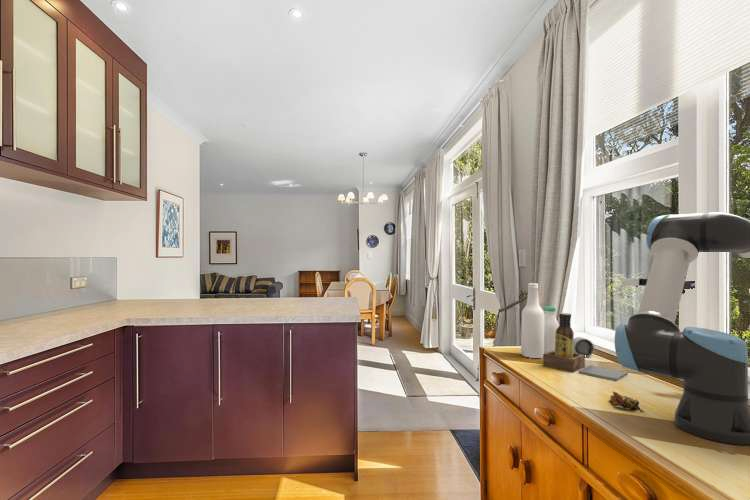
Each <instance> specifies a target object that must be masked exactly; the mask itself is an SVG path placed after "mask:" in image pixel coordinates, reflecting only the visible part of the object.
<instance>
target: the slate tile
mask: <svg viewBox="0 0 750 500" xmlns="http://www.w3.org/2000/svg"><path fill="white" fill-rule="evenodd" d="M578 374H580V375H586V376H590V377H595V378H599V379H604V380H609V381H614V382H618V381H620V380H621V379H623V378H625V377H626V376H627V375H628V374H629V373H628V372H627V371H624V370H618V369H615V368H614V369H613V368H607V367H603V366H597V365H591V364H590V365H588V366H585V367H584V368H582V369H580V370H578Z"/></svg>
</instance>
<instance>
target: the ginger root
mask: <svg viewBox="0 0 750 500" xmlns="http://www.w3.org/2000/svg"><path fill="white" fill-rule="evenodd" d="M609 398H610V399H609V400H608V401H607V402H608V403H609V404H610V405H613V407H615V408H617V407H618V408H621V409H622V410H623V409H625V410H631V409H632V408H633V409H637V410H638V411H639V412H640V413H644V412H645V411H644V410H643V409H642V408H640V406H639V405H640V401H639V400H638V399H634V398H632V397H629V396H627V395H622V394H621V393H619V392H617V391H614V390H613V391H612V395H610V396H609Z"/></svg>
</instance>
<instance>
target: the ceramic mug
mask: <svg viewBox="0 0 750 500" xmlns="http://www.w3.org/2000/svg"><path fill="white" fill-rule="evenodd" d="M573 339H574V346H573V353H576V354H582V355H586V358H589V357H591V356H592V355H593V353H594V351H595V346H594V343H593V342H592V341H591V340H590V339H588V338H585V337H580V336H577V337H575V338H574V337H573Z"/></svg>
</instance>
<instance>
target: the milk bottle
mask: <svg viewBox="0 0 750 500" xmlns="http://www.w3.org/2000/svg"><path fill="white" fill-rule="evenodd" d="M543 311H544V354H545V353H548V352H551V351H554V350H555V334H556V330H557V328H558V327H559V326H560V325H559V322H558V320H557V317H556V307H554V306H543Z"/></svg>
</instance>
